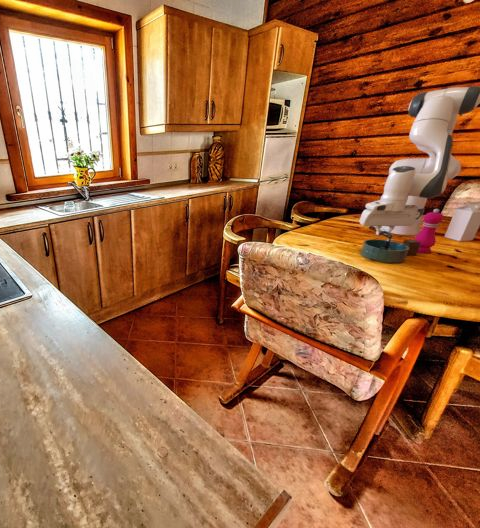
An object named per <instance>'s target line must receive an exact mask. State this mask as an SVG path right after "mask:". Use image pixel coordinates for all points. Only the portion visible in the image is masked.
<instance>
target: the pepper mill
mask: <svg viewBox="0 0 480 528" xmlns="http://www.w3.org/2000/svg"><path fill="white" fill-rule="evenodd" d="M443 221H444V215H443V213H441V212H440V209H439V208H434V209H433V211H432V212H427V213H426V214H425V215H424V216H423V222H422V223H423V224H422V229H421V232H420V233H419V234H418V235H415V237H414V238H413V240H417V241H419V242H421V244H420V246H419V249H418V252H417V254H418V253H420V254H430V253H431V250H432V247H434V246H435V245H436V235H435V234H436V229H438V227H439V226H440V223H441V222H443Z"/></svg>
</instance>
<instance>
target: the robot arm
mask: <svg viewBox="0 0 480 528" xmlns="http://www.w3.org/2000/svg"><path fill="white" fill-rule="evenodd" d="M479 105H480V86H478V85H470V86H459V87H458V86H457V87H455V86H454V87H448V88H441V89H435V90H431V91H428V90H427V91H423V92H419V93H417V94H416V95H414V96H413V98H412V99H411V101H410V102H409V104H408V107H407V112H408V116H410V117H411V118H415V119H414V121H413V122H412V125H411V128H410V131H409V135H408V137H409V141H410V142H411V143H412V144H413V145H415V146H416V147H415V148H417V150H418V151H420V152H423V153H425V154H427V155H428V157H427V158H426V157H425V158H421V157H419V158H416V157H415V158H412V157H411V158H403V159H397V160H396V161H394V162H392V163H391V165H390V167H389V170H388V176H387V178H386V180H385V182H384V186H383V193H382V195H381V196H380V199H378V200H374V201H371V202H368V203H366V204H365V206H364V207H365V208H366V209H364V210H363V211H362V212H361V215H360V218H359V224H360V226H363V227H370V226H373V227H375V228H376V232H375V235H376V236H383V235H382V233H383V232H382V231H384V232H386V233H388V234H392V235H393V234H394V235H400V236H401V235H402V236H417V235H418V234H419V233H420V232H421V231H422V229H421V227H422V223H423V220H424V217H423V215H424V212H425V209H426V207H425V206H426V203H427V201H428V199H429V200H431V199H433V198H434V199H435V198H436V197H439V196H440V195H442V194H443V193H444V191H445V190H446V188H447V185H448V184H447V183H448V181H451V180H452V179H454V178H455V177H457V176H458V175H459V173H460V172H461V170H462V163H461V162H460V161H459V160H458V159H457V158H456V157H454V156H453V155H452V151H453V145H454V137H453V132H454V130H455V126H456V123H457V119H458V116H459V117H462V116H463V115H466V114H470V113H471V112H472V111H474V110H475V109H476V108H477V107H478V106H479ZM380 230H382V231H380Z"/></svg>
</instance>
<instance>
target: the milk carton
mask: <svg viewBox="0 0 480 528" xmlns="http://www.w3.org/2000/svg"><path fill="white" fill-rule="evenodd" d="M479 228H480V201H467V203H466V204H464V205H462V206H459V207H457V208H455V210H454V213H453V215H452V216H451V219H450V222H449V224H448V227H447V229H446V231H445V234H444V236H443V237H444V238H445V239H450V240H453V241H458V242H468V241H474V239H475V236H476V235H477V233H478V231H479Z"/></svg>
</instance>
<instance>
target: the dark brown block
mask: <svg viewBox="0 0 480 528" xmlns="http://www.w3.org/2000/svg"><path fill="white" fill-rule="evenodd" d="M402 244H404V245H406V246H408V247H409V250H408V253H407V256H406V257H416V256H417V254H418V249H419V246H420V244H421V242H419V241H417V240H414V239H408V238H407V239H403V242H402Z"/></svg>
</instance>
